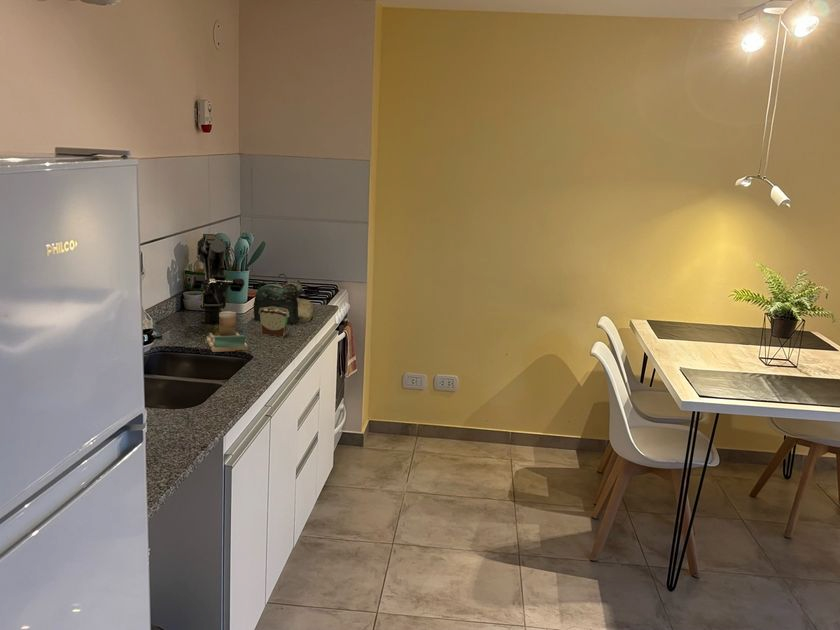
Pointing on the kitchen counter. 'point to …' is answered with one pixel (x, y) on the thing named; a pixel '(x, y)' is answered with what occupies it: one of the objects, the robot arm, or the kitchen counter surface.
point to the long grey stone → (304, 310)
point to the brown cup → (227, 323)
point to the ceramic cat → (279, 298)
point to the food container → (273, 321)
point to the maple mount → (227, 342)
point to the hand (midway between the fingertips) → (219, 303)
